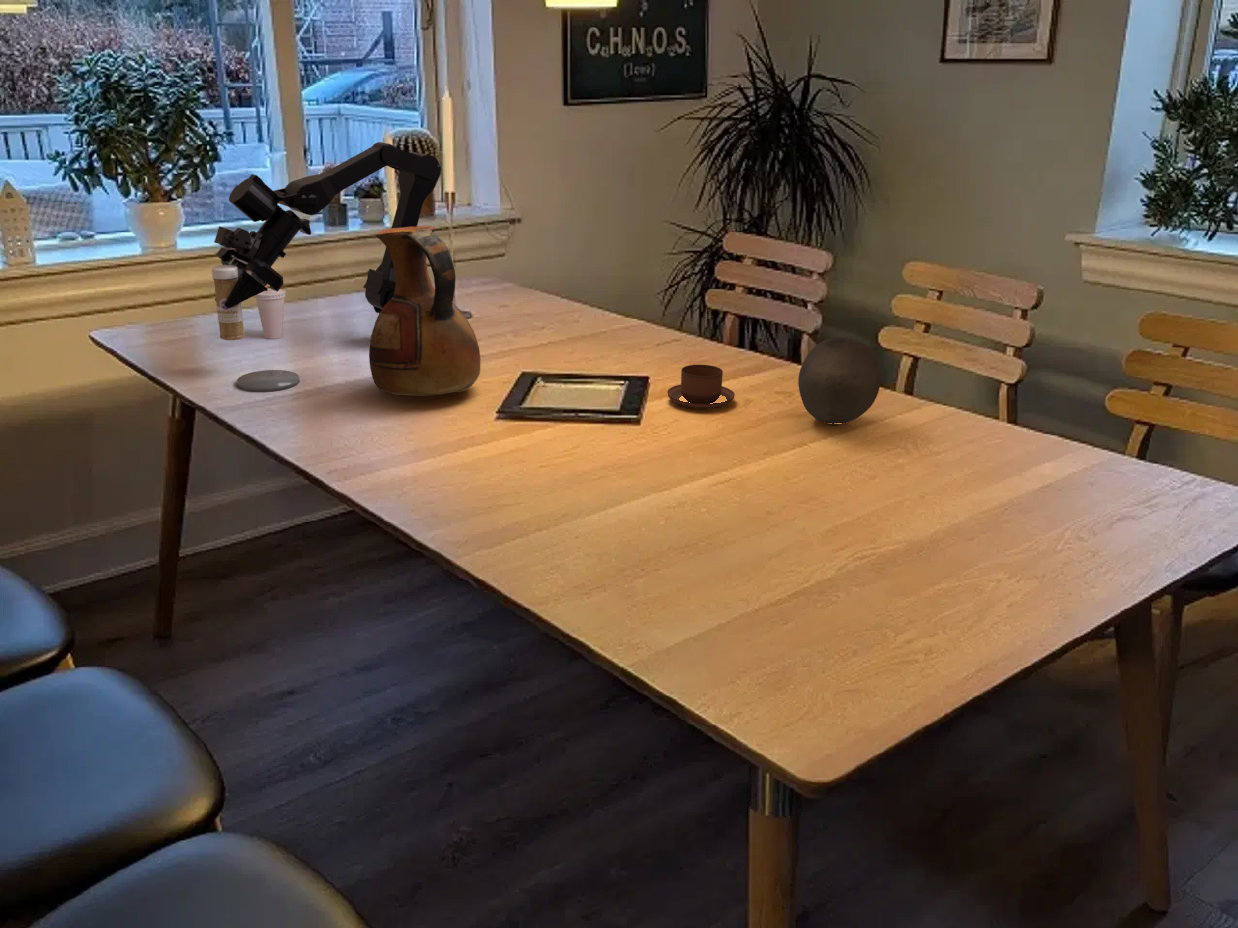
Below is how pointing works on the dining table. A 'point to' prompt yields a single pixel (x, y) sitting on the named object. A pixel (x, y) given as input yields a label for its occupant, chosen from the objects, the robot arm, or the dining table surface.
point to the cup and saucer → (700, 387)
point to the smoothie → (271, 312)
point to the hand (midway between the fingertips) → (221, 304)
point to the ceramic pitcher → (422, 322)
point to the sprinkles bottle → (227, 317)
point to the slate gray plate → (268, 380)
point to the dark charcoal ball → (839, 380)
